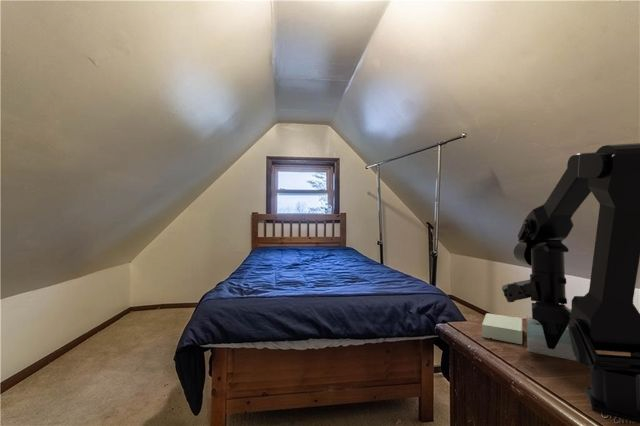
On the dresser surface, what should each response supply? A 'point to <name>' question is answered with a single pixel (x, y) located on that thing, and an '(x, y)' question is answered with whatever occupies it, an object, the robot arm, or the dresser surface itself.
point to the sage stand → (502, 328)
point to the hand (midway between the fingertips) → (550, 343)
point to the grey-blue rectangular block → (539, 345)
